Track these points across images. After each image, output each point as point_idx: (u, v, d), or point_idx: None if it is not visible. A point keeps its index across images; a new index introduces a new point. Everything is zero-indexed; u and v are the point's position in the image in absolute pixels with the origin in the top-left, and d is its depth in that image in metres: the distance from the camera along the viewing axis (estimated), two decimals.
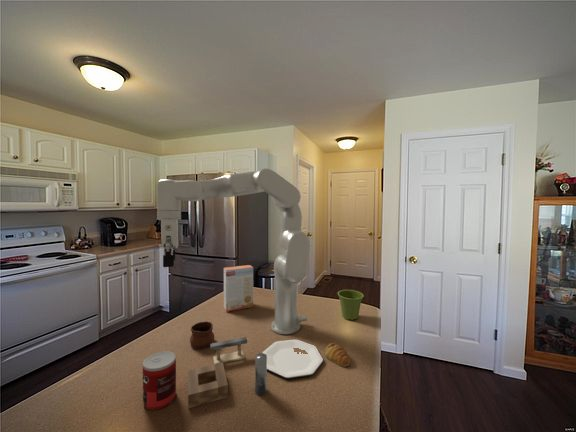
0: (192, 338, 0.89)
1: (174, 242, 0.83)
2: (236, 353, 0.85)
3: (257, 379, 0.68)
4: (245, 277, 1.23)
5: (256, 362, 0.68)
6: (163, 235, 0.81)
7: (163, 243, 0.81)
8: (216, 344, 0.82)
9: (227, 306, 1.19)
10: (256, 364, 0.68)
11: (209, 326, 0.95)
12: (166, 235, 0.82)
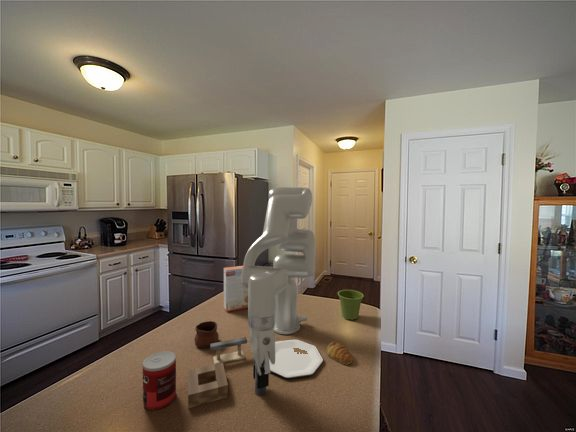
0: (197, 337, 0.90)
1: (273, 358, 0.65)
2: (236, 353, 0.85)
3: None
4: None
5: None
6: (261, 351, 0.64)
7: (261, 362, 0.64)
8: (216, 344, 0.82)
9: (227, 306, 1.19)
10: (256, 364, 0.68)
11: (213, 326, 0.95)
12: (264, 354, 0.64)
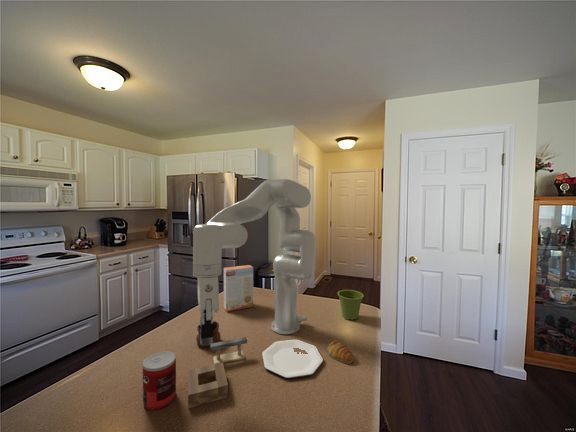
0: (199, 337, 0.90)
1: (216, 306, 0.64)
2: (236, 353, 0.85)
3: None
4: (245, 277, 1.23)
5: None
6: (202, 298, 0.63)
7: (202, 309, 0.63)
8: (216, 344, 0.82)
9: (227, 306, 1.19)
10: None
11: (215, 325, 0.95)
12: (206, 301, 0.63)
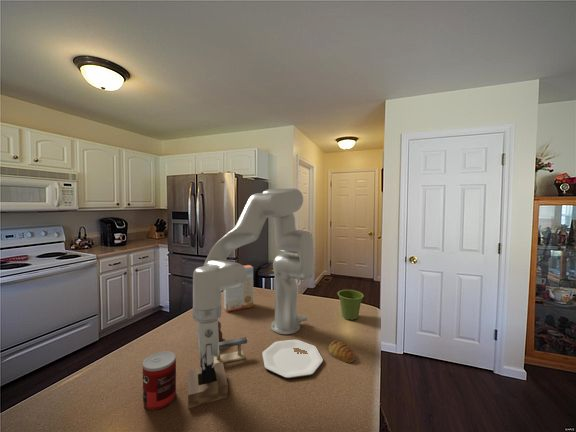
0: None
1: (216, 350, 0.65)
2: (236, 353, 0.85)
3: None
4: None
5: None
6: (202, 344, 0.64)
7: (202, 354, 0.64)
8: None
9: (227, 306, 1.19)
10: (202, 361, 0.68)
11: None
12: (206, 345, 0.64)
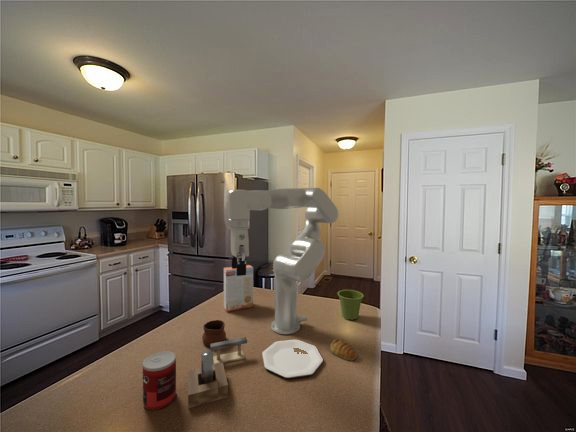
0: (205, 336, 0.91)
1: (247, 251, 0.84)
2: (236, 353, 0.85)
3: (202, 376, 0.68)
4: (245, 277, 1.23)
5: (201, 359, 0.68)
6: (237, 244, 0.83)
7: (237, 252, 0.83)
8: (216, 344, 0.82)
9: (227, 306, 1.19)
10: (201, 361, 0.68)
11: (220, 324, 0.96)
12: (240, 244, 0.83)
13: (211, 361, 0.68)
